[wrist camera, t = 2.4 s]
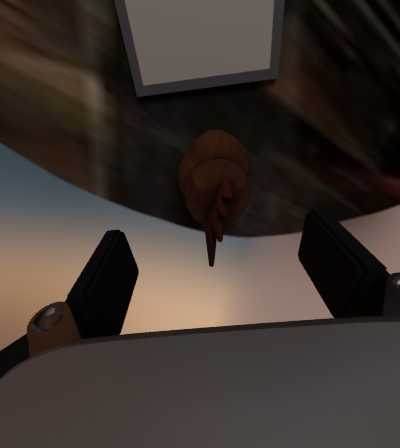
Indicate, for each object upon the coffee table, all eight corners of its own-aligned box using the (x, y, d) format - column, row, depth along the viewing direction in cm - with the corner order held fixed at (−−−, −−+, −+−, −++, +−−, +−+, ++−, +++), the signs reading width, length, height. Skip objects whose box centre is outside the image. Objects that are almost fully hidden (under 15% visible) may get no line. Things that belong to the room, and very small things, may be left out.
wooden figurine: (211, 192, 26) (221, 295, 13) (172, 163, 24) (142, 252, 11) (251, 149, 23) (312, 228, 10) (211, 111, 21) (228, 154, 8)
